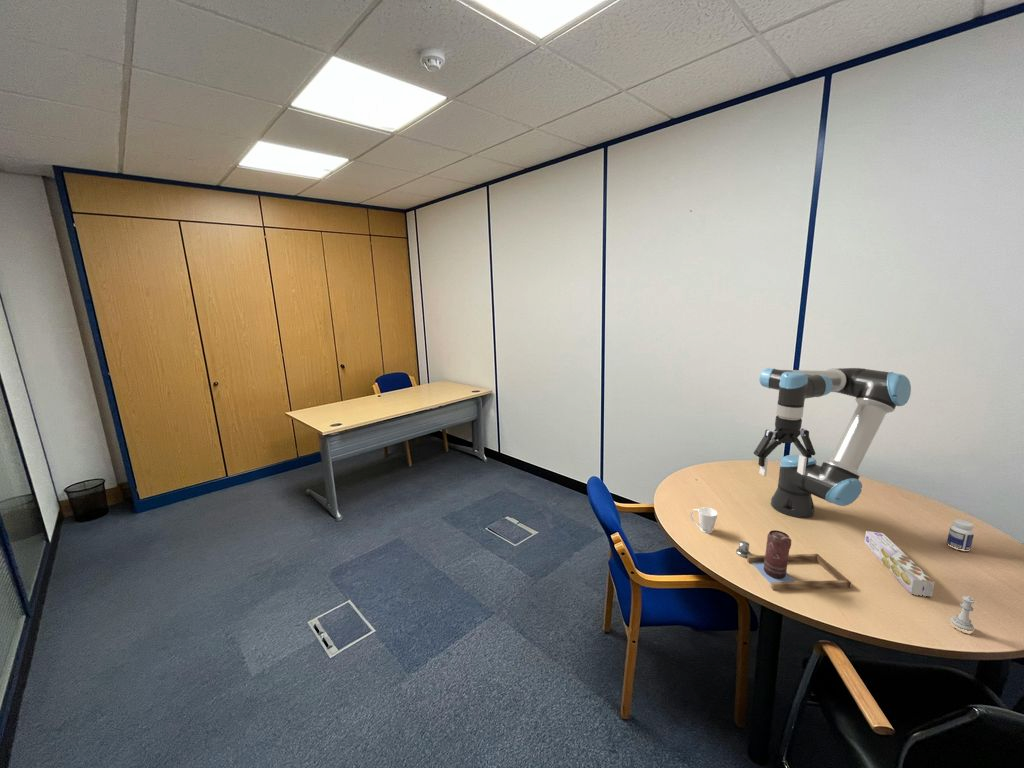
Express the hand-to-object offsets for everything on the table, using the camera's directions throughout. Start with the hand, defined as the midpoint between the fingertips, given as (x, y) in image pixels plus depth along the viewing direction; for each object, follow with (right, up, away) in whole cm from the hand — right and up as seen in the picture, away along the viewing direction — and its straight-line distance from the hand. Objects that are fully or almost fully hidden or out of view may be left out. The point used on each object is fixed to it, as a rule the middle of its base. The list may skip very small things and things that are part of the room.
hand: (781, 474), depth 144 cm
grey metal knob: (-14, -28, -1) cm, 31 cm away
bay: (-3, -30, -12) cm, 32 cm away
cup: (-21, -25, +15) cm, 36 cm away
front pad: (-10, -30, -12) cm, 34 cm away
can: (-10, -30, -12) cm, 34 cm away
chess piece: (+26, -34, -34) cm, 55 cm away
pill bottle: (+62, -26, -1) cm, 67 cm away
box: (+31, -29, -10) cm, 43 cm away
